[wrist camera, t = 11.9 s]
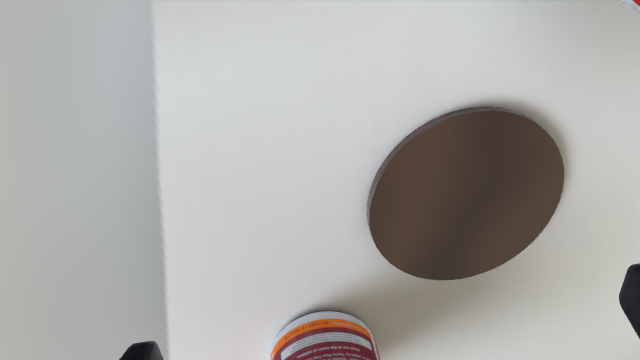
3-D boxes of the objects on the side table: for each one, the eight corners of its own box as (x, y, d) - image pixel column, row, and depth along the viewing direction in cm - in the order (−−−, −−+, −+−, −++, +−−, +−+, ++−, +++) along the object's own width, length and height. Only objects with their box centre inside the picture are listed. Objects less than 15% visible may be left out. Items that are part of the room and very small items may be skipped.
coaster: (369, 287, 26) (371, 293, 26) (363, 122, 21) (365, 126, 21) (541, 259, 27) (546, 265, 27) (576, 93, 22) (583, 97, 21)
